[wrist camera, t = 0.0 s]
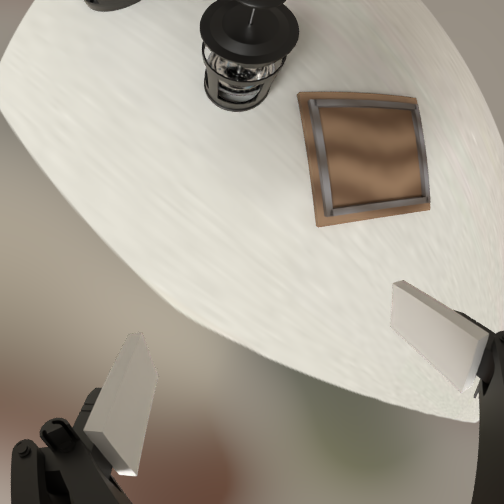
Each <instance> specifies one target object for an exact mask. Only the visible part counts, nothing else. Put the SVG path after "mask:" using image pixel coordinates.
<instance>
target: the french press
mask: <svg viewBox="0 0 504 504" xmlns="http://www.w3.org/2000/svg"><path fill="white" fill-rule="evenodd" d="M285 1H286V0H217V1H215V2H214V3H212V4H211V5H210V6H209V7H208V8H207V9H206V11H205V12H204V14H203V15H202V18H201V21H200V33H201V37H202V39H203V43H202V56H203V60H204V63H205V65H206V71H205V79H204V88H205V92H206V94H207V96H208V98H209V99H210V100H211V101H212V102H213V103H214V104H215V105H216V106H218V107H220V108H222V109H224V110H227V111H232V112H242V111H247V110H250V109H253V108H255V107H256V106H258V105H259V104H260V103H261V102H262V101H263V100H264V99H265V98H266V96H267V94H268V92H269V88H270V85H271V83H272V82H273V80H274V78H275V76H276V75H277V73H278V72H279V71H280V69H281V68H282V66H283V64H284V62H285V60H286V56H287V54H289V53H290V52H291V50H292V49H293V48H294V47H295V45H296V43H297V40H298V37H299V26H298V23H297V20H296V18H295V16H294V15H293V13H292V12H291V11H290V10H289V9H288V8H287V7H286V6H285V5H284V4H283V3H284V2H285ZM205 45H206V46H207V47H208V48H209V49H210V51H212V52H211V53H210V55H209V57H208V59H207V60H206V58H205V54H204V49H205ZM280 59H282V63H281V65H280V67H279V68H278V69H277V70H276V71H275V67H274V63H275V62H276V61H278V60H280ZM274 71H275V72H274ZM218 90H221V91H223V92H225V93H227V94H230V95H236V96H246V95H252V94H255V93H257V92H258V93H257V95H256V96H255V97H254V98H252V99H250V100H248V101H246V102H241V103H234V102H230V101H227V100H225V99H223V98H221V97H220V96H219V95H218Z"/></svg>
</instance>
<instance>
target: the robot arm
mask: <svg viewBox="0 0 504 504" xmlns="http://www.w3.org/2000/svg"><path fill="white" fill-rule="evenodd" d="M84 1H85V3H86V4H87V5H88V6H89V7H90V8H91V9H93V10H96V11H104V12H105V11H114V10H118V9H122V8H125V7H127V6H130V5H132V4H134V3H136V2H138V1H140V0H84ZM390 327H391V328H392V329H393V330H394V331H395V332H396V333H397V334H398V335H400V336H401V337H402V338H403V339H404V340H405V341H406V342H407V343H408V344H409V345H410V346H412V347H413V348H414V349H415V350H416V351H417V352H418V353H419V354H420V355H421V356H422V357H424V358H425V359H426V360H427V361H428V362H429V363H430V364H431V365H432V366H433V367H434V368H435V369H436V370H437V371H438V372H440V373H441V374H442V375H443V376H444V377H445V378H446V379H447V380H448V381H449V382H450V383H451V384H452V385H453V386H454V387H455V388H456V389H457V390H458V391H459V392H460V393H462V392H464V391H465V390H467V389H468V388H470V387H471V386H473V383H474V380H475V378H476V375H477V376H478V377H479V378H480V381H479V384H478V386H477V389H476V391H475V394H474V398H476V396H477V393H478V392H479V409H480V427H479V449H478V462H477V471H476V478H475V485H474V491H473V497H472V502H471V504H504V331H500V332H498V333H496V334H495V333H494V332H492V331H491V330H489V329H488V328H486V327H485V326H483V325H481V324H480V323H478V322H476V321H475V320H474V319H471V318H470V317H469V316H467V315H466V314H464V313H461V312H458V311H455V310H452V309H450V308H449V307H447V306H446V305H444V304H442V303H441V302H439V301H437V300H436V299H434V298H433V297H431V296H429V295H428V294H426V293H424V292H423V291H421V290H419V289H418V288H416V287H414V286H413V285H411V284H409V283H407V282H406V281H404V280H402V281H399V282H395V283H393V285H392V307H391V321H390ZM158 377H159V375H158V372H157V370H156V367H155V365H154V362H153V360H152V357H151V355H150V352H149V349H148V347H147V344H146V341H145V338H144V335H143V333H132V334H129V335H128V336H127V338H126V340H125V342H124V344H123V346H122V348H121V350H120V352H119V354H118V356H117V358H116V360H115V362H114V364H113V366H112V368H111V370H110V372H109V374H108V377H107V379H106V381H105V383H104V385H103V387H102V388H95V389H94V390H93V391H92V392H91V393H90V394H89V395H88V397H87V399H86V401H85V403H84V405H83V407H82V409H81V412H80V413H79V415H78V417H77V419H76V421H75V424H74V426H73V428H72V427H71V426H70V424H69V423H68V421H67V420H65V419H63V418H54V419H51V420H49V421H47V422H46V423H45V424H44V425H43V426H42V428H41V430H40V437H41V439H42V440H43V441H44V442H45V443H46V445H47V446H48V447H44V448H38V446H37V445H36V444H35V443H34V442H33V441H32V440H29V439H28V440H26V439H24V440H22V441H20V442H18V443H17V444H16V445H15V447H14V448H13V451H12V461H11V504H132V502H131V501H130V500H129V498H128V497H127V496H126V494H125V493H124V492H123V490H122V489H121V487H120V486H119V485H118V483H117V482H116V480H115V479H114V478H113V477H112V476H111V471H112V467H113V468H114V469H115V470H116V471H117V472H118V474H120V475H130V476H137V473H138V468H139V462H140V458H141V452H142V447H143V442H144V438H145V433H146V428H147V423H148V419H149V414H150V410H151V406H152V401H153V397H154V393H155V389H156V384H157V381H158Z"/></svg>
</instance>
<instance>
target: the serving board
mask: <svg viewBox="0 0 504 504" xmlns="http://www.w3.org/2000/svg"><path fill="white" fill-rule="evenodd" d="M297 98H298V103H299V109H300V114H301V120H302V126H303V132H304V138H305V144H306V151H307V157H308V164H309V171H310V179H311V186H312V194H313V202H314V211H315V220H316V226H317V227H324V226H330V225H336V224H342V223H349V222H355V221H361V220H367V219H374V218H380V217H387V216H393V215H400V214H406V213H413V212H419V211H426V210H430V188H429V175H428V165H427V156H426V149H425V141H424V135H423V129H422V123H421V117H420V112H419V107H418V104H417V100H416V98H411V97H403V96H394V95H383V94H370V93H351V92H299V93H298V94H297Z"/></svg>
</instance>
